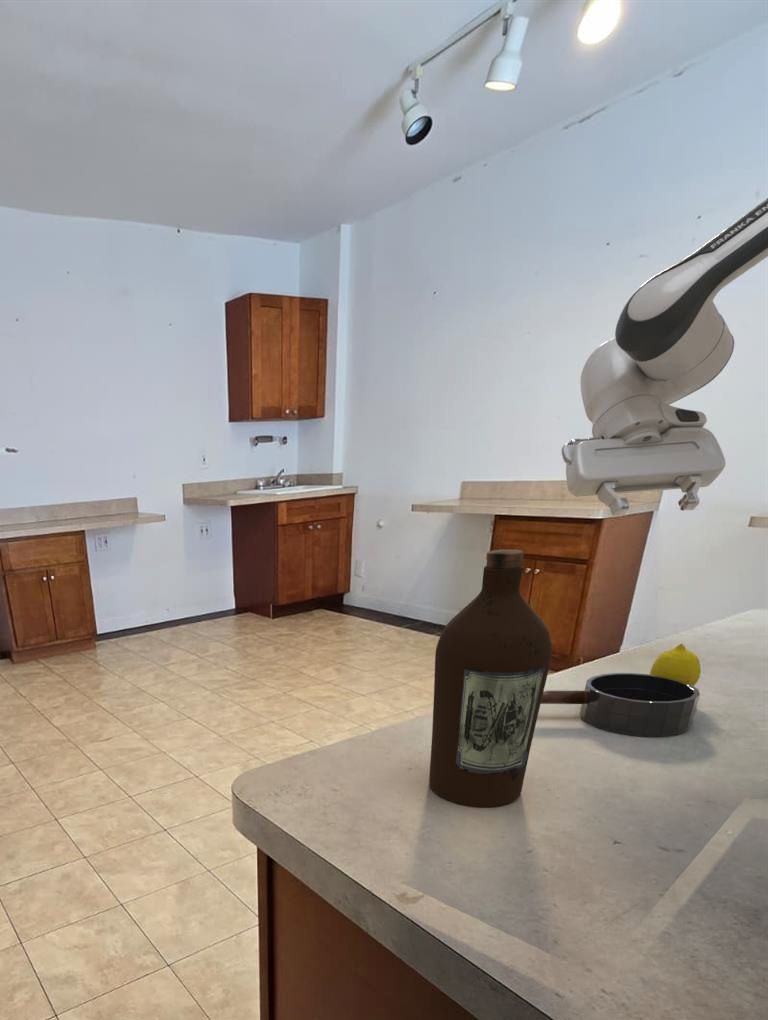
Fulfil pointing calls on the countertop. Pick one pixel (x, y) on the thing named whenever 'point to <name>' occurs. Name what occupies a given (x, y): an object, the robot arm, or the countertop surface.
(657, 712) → the pan
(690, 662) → the fruit
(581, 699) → the pan handle
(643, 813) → the countertop surface
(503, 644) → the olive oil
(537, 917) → the countertop surface
